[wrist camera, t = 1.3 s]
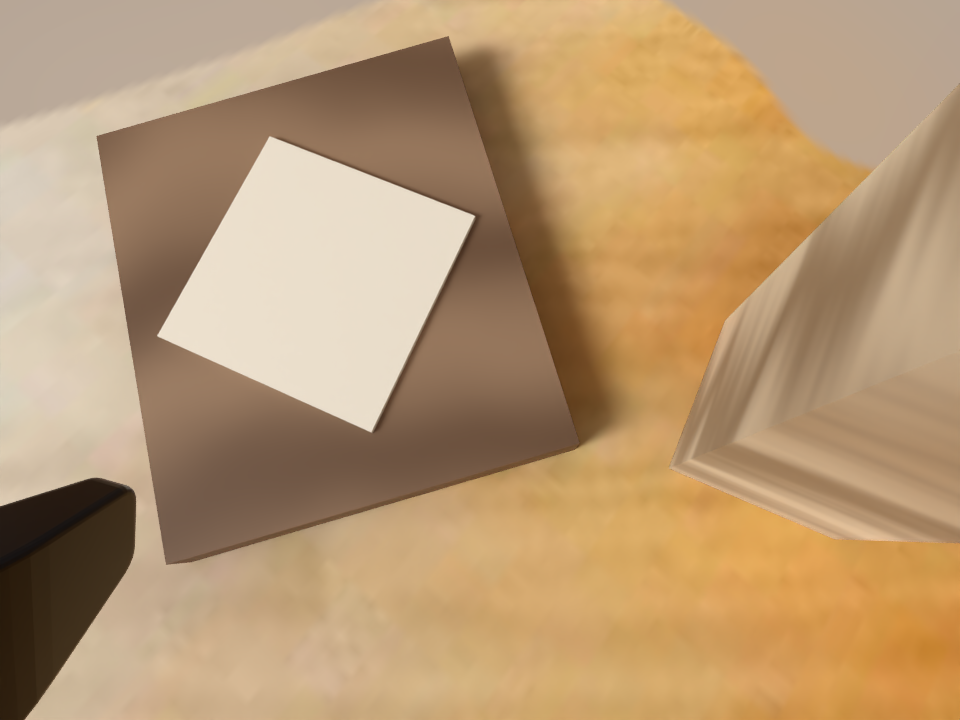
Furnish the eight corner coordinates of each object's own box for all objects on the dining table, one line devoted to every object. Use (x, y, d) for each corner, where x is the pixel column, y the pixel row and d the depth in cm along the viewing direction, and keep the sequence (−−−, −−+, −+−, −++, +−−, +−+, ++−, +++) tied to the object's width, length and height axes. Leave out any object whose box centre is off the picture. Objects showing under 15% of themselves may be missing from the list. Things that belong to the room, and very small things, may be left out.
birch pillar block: (834, 539, 20) (1525, 562, 6) (668, 468, 20) (962, 350, 7) (885, 382, 21) (1578, 106, 7) (725, 320, 21) (1079, -38, 8)
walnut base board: (575, 449, 21) (580, 442, 19) (191, 562, 21) (162, 564, 19) (452, 65, 24) (447, 32, 23) (122, 159, 24) (93, 132, 22)
